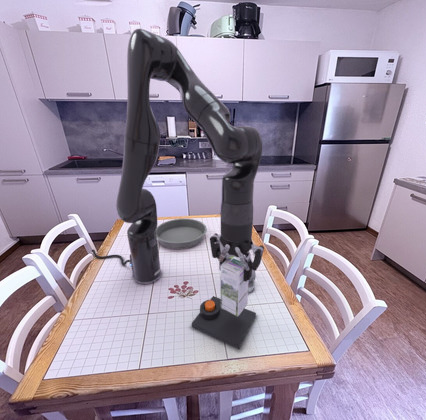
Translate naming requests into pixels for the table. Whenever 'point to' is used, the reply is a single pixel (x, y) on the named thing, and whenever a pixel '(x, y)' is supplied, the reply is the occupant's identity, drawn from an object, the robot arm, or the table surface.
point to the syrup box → (233, 286)
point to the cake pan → (180, 233)
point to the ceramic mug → (252, 280)
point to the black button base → (224, 323)
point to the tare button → (209, 306)
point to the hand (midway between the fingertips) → (235, 275)
